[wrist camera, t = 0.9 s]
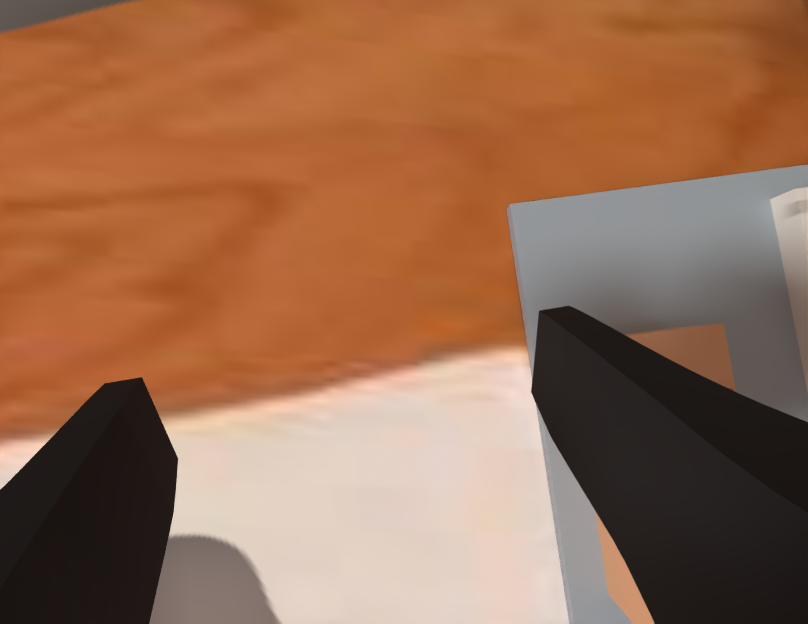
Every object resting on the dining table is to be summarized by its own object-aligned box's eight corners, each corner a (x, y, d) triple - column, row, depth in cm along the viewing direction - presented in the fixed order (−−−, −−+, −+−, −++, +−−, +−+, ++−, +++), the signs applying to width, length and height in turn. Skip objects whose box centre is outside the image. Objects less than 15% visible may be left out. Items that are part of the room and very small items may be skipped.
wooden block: (709, 580, 21) (809, 655, 16) (608, 594, 21) (675, 674, 16) (665, 328, 22) (746, 320, 16) (568, 341, 22) (619, 338, 16)
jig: (1035, 578, 21) (1106, 603, 19) (572, 641, 21) (591, 674, 19) (939, 151, 23) (996, 130, 21) (506, 209, 23) (516, 193, 21)
